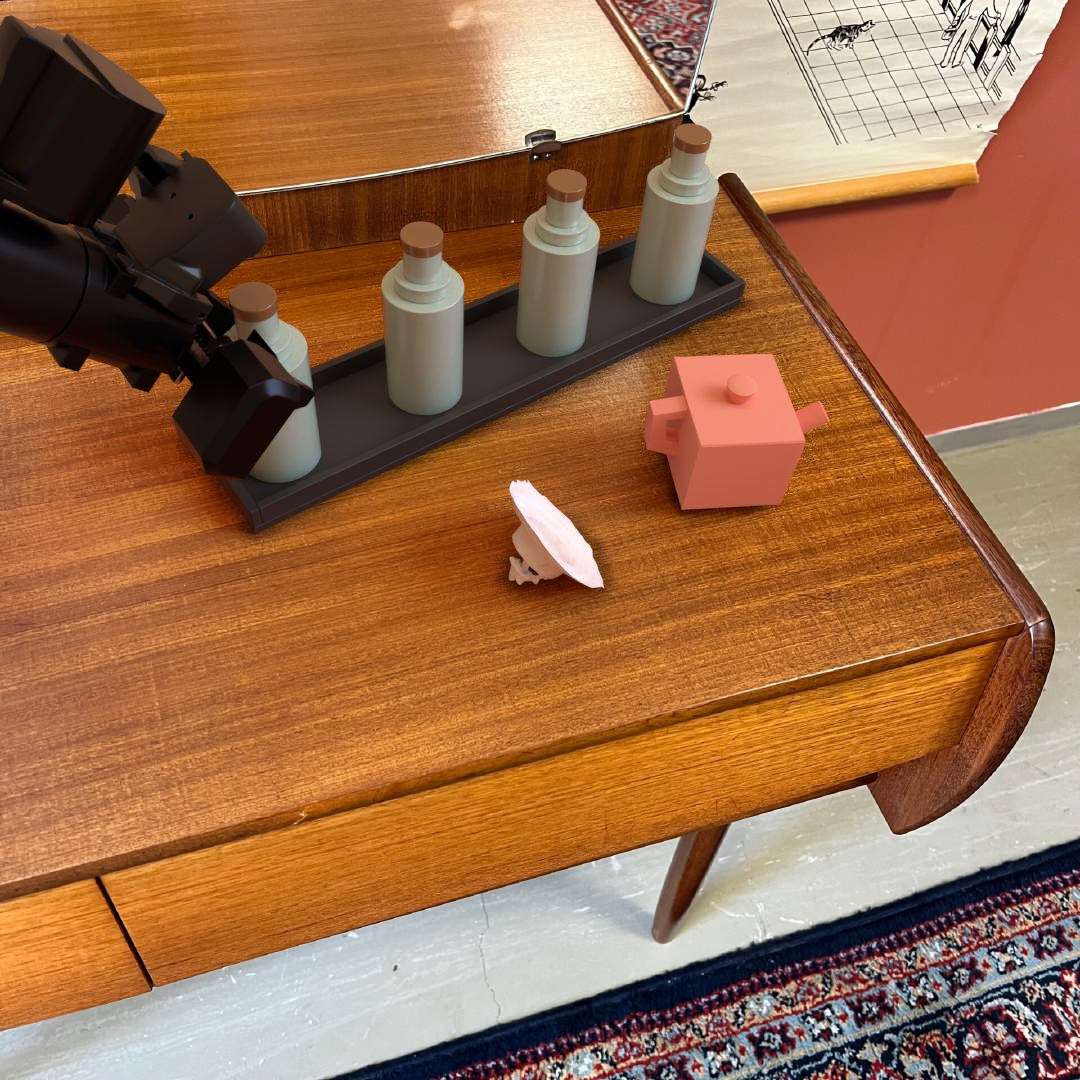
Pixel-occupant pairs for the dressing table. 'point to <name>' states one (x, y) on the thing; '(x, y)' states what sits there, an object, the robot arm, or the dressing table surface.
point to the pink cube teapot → (729, 430)
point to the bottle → (300, 434)
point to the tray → (472, 381)
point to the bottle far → (675, 220)
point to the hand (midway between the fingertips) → (287, 371)
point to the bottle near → (423, 324)
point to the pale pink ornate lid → (548, 541)
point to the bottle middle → (557, 269)
